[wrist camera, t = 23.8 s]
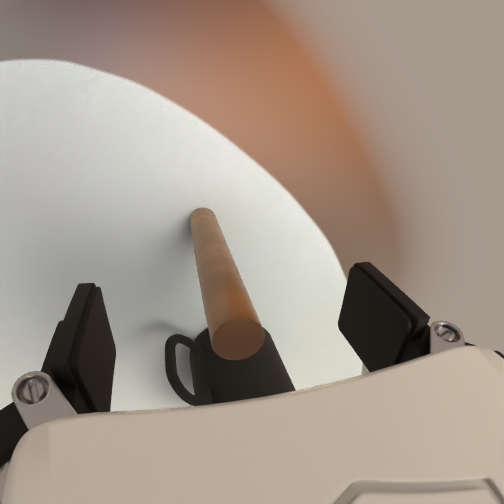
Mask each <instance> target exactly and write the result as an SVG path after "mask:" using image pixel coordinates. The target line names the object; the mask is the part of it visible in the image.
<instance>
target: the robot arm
mask: <svg viewBox="0 0 504 504" xmlns="http://www.w3.org/2000/svg"><path fill="white" fill-rule="evenodd" d="M429 319H430V317H429V316H428V315H427V314H426V313H425V312H424V311H423V310H422V309H421V308H420V307H419V306H418V305H416V303H414V302H413V301H412V300H411V299H410V298H409V297H408V296H407V295H405V293H404V292H402V291H401V290H400V289H399V288H398V287H397V286H396V285H395V284H394V283H392V282H391V281H390V280H389V279H388V278H387V277H386V276H384V274H382V273H381V272H380V271H379V270H378V269H377V268H376V267H374V266H373V265H372V264H371V263H370V262H362V263H356V264H354V266H353V267H352V268H351V269H350V272H349V276H348V281H347V286H346V290H345V295H344V299H343V304H342V308H341V312H340V316H339V320H338V327H339V330H340V331H341V333H342V334H343V335H344V337H345V338H346V340H347V341H348V342H349V344H350V345H351V346H352V348H353V349H354V351H355V352H356V353H357V355H358V356H359V358H360V359H361V360H362V362H363V363H364V364H365V366H366V367H367V369H368V370H369V372H370V373H367V374H363V375H360V376H356V377H352V378H348V379H344V380H340V381H336V382H332V383H328V384H324V385H320V386H315V387H311V388H306V389H302V390H297V391H292V392H287V393H282V394H276V395H271V396H265V397H259V398H253V399H246V400H240V401H233V402H226V403H218V404H210V405H201V406H191V407H179V408H167V409H153V410H135V411H116V412H110V406H111V394H112V384H113V375H114V366H115V358H116V348H115V343H114V340H113V336H112V332H111V329H110V325H109V321H108V317H107V313H106V309H105V305H104V301H103V296H102V292H101V288H100V287H96V286H95V284H94V283H81V284H78V286H77V288H76V291H75V293H74V295H73V298H72V300H71V302H70V305H69V307H68V310H67V312H66V315H65V318H64V320H63V321H60V322H59V323H58V325H57V327H56V330H55V333H54V335H53V338H52V341H51V343H50V346H49V349H48V352H47V354H46V357H45V360H44V363H43V366H42V369H41V372H39V371H34V372H29V373H26V374H24V375H22V376H21V377H20V378H18V380H17V381H16V382H15V383H14V385H13V388H12V398H13V401H14V402H12V403H11V404H9V405H8V406H6V407H5V408H3V409H2V410H0V504H504V355H503V354H502V353H500V352H498V351H493V350H491V349H489V348H486V347H481V346H476V345H473V344H469V343H466V342H465V341H464V335H463V333H462V331H461V330H460V329H459V328H458V327H457V326H455V325H454V324H451V323H449V322H446V321H436V322H433V323H432V324H431V326H430V327H429V326H428V325H427V323H428V321H429Z"/></svg>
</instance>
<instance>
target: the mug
mask: <svg viewBox="0 0 504 504" xmlns="http://www.w3.org/2000/svg"><path fill="white" fill-rule="evenodd" d="M262 328H263V327H262ZM263 330H264V334H265V337H264V342H263V344H262V346H261V348H260V349H259V350H258V351H257V352H256V353H255V354H253V355H251V356H250V357H247V358H245V359H241V360H228V359H225V358H222V357H220V356H219V355H218V354H216V353H215V351H214V350H213V348H212V345H211V340H210V335H209V330H208V329H206V330H204V331H203V332H202V333H201V334H200V335H199V336H198V337H197V338H196V339H195V341H193V340H192V339H190V338H188V337H186V336H183V335H180V334H175V335H172V336H170V337H169V338H168V339H167V341H166V344H165V367H166V374H167V378H168V380H169V383H170V385H171V386H172V388H173V390H174V391H175V392H176V394H177V395H178V396H179V397H180V398H181V399H182V400H184V401H185V402H186V403H188V404H190V405H193V406H201V405H210V404H218V403H226V402H233V401H240V400H246V399H253V398H259V397H265V396H271V395H276V394H282V393H287V392H292V391H296V390H295V388H294V386H293V384H292V381H291V379H290V377H289V375H288V373H287V371H286V368H285V366H284V364H283V362H282V360H281V358H280V355H279V353H278V351H277V349H276V347H275V344H274V342H273V340H272V338H271V336H270V334H269V333H268V332H267V331H266V330H265V329H264V328H263ZM178 343H181V344H184V345H185V346H187V347H189V348H190V349H191V350H190V364H191V372H192V380H193V387H194V394H195V395H192V394H191V393H190V392H189V391H188V390H187V389H186V388H185V387H184V386H183V384H182V383H181V381H180V379H179V377H178V374H177V370H176V357H175V346H176V345H177V344H178Z"/></svg>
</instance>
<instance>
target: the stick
mask: <svg viewBox="0 0 504 504" xmlns="http://www.w3.org/2000/svg"><path fill="white" fill-rule="evenodd" d="M189 222H190V229H191V235H192V241H193V247H194V253H195V259H196V265H197V271H198V277H199V282H200V288H201V293H202V299H203V304H204V309H205V315H206V320H207V325H208V330H209V335H210V340H211V345H212V348H213V350H214V351H215V353H216V354H218V355H219V356H220V357H222V358H225V359H228V360H241V359H245V358H247V357H250V356H251V355H253V354H255V353H256V352H257V351H258V350H259V349H260V348H261V346H262V344H263V342H264V337H265V334H264V330H263V328H262V325H261V323H260V321H259V318H258V316H257V314H256V311H255V309H254V307H253V305H252V302H251V300H250V298H249V295H248V293H247V291H246V288H245V286H244V284H243V281H242V279H241V277H240V274H239V272H238V269H237V267H236V265H235V262H234V260H233V258H232V255H231V253H230V251H229V248H228V246H227V243H226V241H225V239H224V236H223V234H222V231H221V229H220V227H219V224H218V222H217V219H216V217H215V215H214V213H213V212H212V211H211V210H209V209H207V208H199V209H197V210H195V211H194V212H193V213H192V214H191V216H190V220H189Z"/></svg>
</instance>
